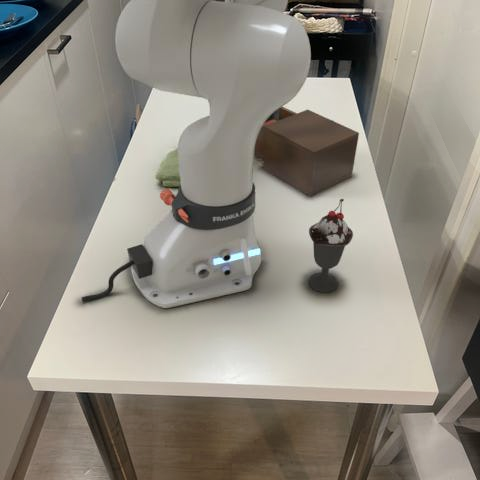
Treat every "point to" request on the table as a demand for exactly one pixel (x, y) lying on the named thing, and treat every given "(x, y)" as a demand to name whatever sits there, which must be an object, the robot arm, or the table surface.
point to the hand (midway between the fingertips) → (256, 47)
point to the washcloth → (170, 170)
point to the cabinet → (309, 151)
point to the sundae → (328, 248)
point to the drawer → (277, 116)
